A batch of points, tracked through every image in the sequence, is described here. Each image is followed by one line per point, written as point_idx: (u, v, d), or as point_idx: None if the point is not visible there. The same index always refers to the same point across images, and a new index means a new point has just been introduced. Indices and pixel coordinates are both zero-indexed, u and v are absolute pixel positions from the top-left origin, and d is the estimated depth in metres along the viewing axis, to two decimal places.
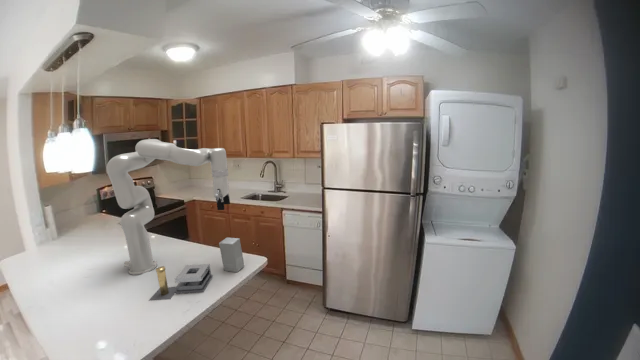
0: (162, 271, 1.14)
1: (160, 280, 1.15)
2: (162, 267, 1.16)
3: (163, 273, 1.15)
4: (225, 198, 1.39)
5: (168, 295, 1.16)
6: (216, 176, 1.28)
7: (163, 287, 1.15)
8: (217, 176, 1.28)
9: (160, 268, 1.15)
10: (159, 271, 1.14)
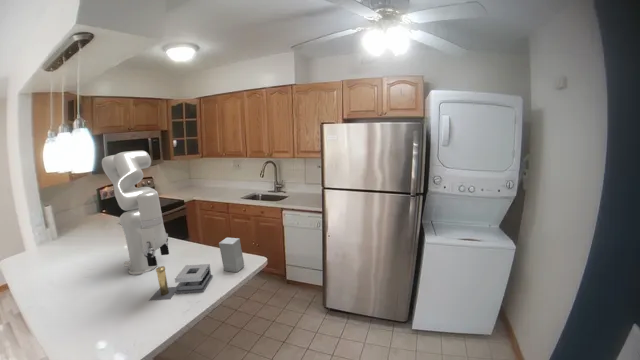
0: (162, 271, 1.14)
1: (160, 280, 1.15)
2: (162, 267, 1.16)
3: (163, 273, 1.15)
4: (163, 248, 1.18)
5: (168, 295, 1.16)
6: (145, 226, 1.07)
7: (163, 287, 1.15)
8: (146, 226, 1.07)
9: (160, 268, 1.15)
10: (159, 271, 1.14)
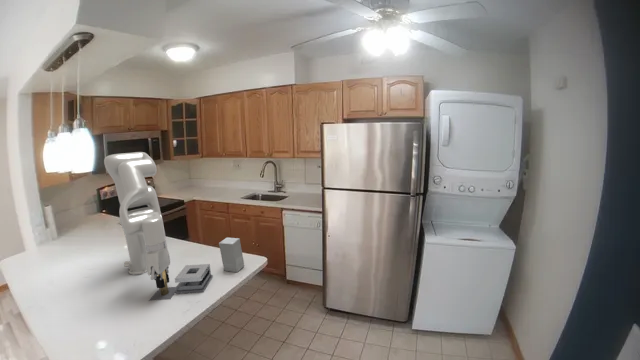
0: None
1: None
2: None
3: (163, 273, 1.15)
4: None
5: (168, 295, 1.16)
6: (150, 251, 1.09)
7: None
8: (151, 251, 1.09)
9: None
10: None
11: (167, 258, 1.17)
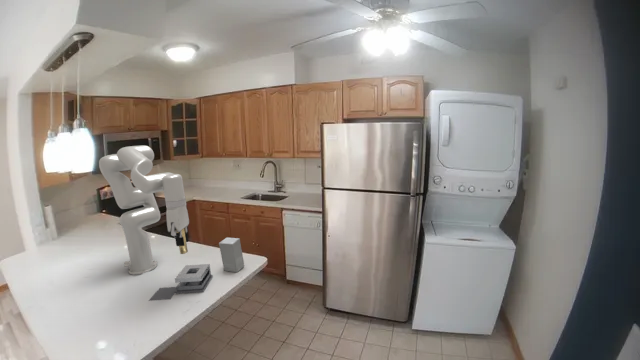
0: None
1: None
2: None
3: (182, 231, 1.15)
4: None
5: (168, 295, 1.16)
6: (170, 207, 1.10)
7: None
8: (171, 207, 1.10)
9: None
10: None
11: (186, 217, 1.17)
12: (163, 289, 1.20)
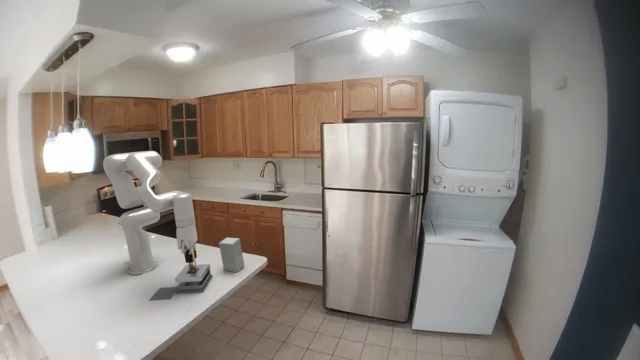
0: None
1: None
2: None
3: (192, 248, 1.18)
4: None
5: (168, 295, 1.16)
6: (180, 226, 1.13)
7: None
8: (181, 226, 1.13)
9: None
10: None
11: (195, 234, 1.20)
12: (163, 289, 1.20)
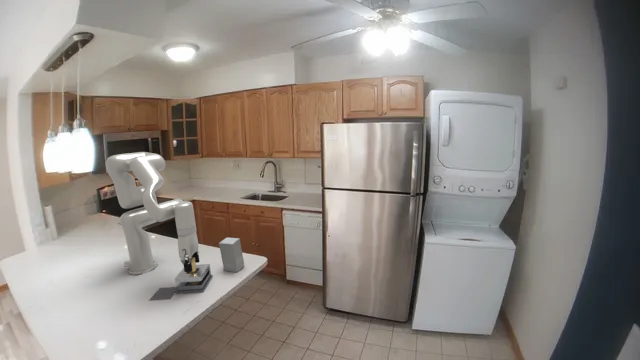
0: (193, 261, 1.19)
1: None
2: (192, 257, 1.21)
3: (193, 263, 1.20)
4: (194, 256, 1.24)
5: (168, 295, 1.16)
6: (181, 235, 1.14)
7: None
8: (182, 235, 1.14)
9: None
10: (190, 261, 1.19)
11: (196, 242, 1.21)
12: (163, 289, 1.20)
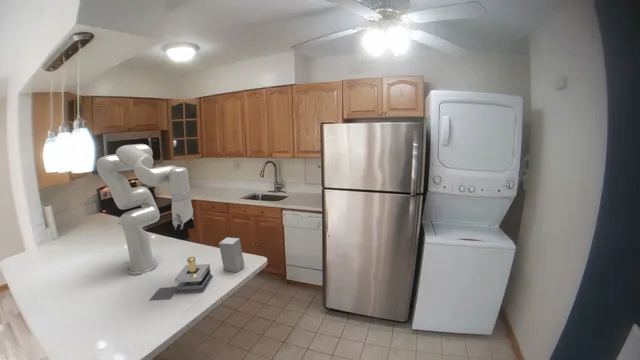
0: (193, 261, 1.20)
1: (191, 270, 1.20)
2: (192, 257, 1.21)
3: (194, 263, 1.20)
4: (189, 222, 1.24)
5: (168, 295, 1.16)
6: (175, 200, 1.13)
7: None
8: (176, 200, 1.13)
9: (191, 258, 1.20)
10: (190, 261, 1.19)
11: (190, 209, 1.20)
12: (163, 289, 1.20)
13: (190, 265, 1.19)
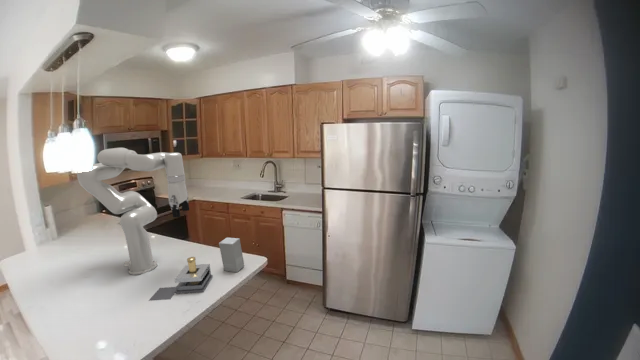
0: (193, 261, 1.20)
1: (191, 270, 1.20)
2: (192, 257, 1.21)
3: (194, 263, 1.20)
4: (184, 204, 1.34)
5: (168, 295, 1.16)
6: (171, 182, 1.23)
7: None
8: (172, 182, 1.23)
9: (191, 258, 1.20)
10: (190, 261, 1.19)
11: (185, 192, 1.30)
12: (163, 289, 1.20)
13: (190, 265, 1.19)
